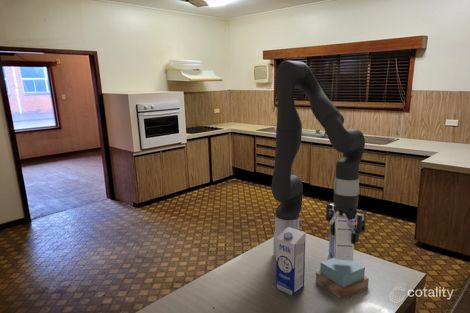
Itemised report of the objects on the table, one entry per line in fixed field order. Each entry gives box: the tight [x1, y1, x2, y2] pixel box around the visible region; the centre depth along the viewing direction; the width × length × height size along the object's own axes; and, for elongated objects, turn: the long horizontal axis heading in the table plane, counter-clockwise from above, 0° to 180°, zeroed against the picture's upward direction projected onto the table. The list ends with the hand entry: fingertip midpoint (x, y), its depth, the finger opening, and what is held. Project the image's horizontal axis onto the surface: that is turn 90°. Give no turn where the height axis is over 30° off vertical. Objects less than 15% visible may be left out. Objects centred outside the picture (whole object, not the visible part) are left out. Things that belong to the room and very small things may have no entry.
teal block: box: [319, 257, 366, 287], centre depth 111 cm, size 10×10×4 cm
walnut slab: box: [315, 270, 370, 300], centre depth 112 cm, size 12×12×4 cm
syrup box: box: [334, 215, 355, 261], centre depth 109 cm, size 6×6×14 cm
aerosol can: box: [327, 212, 335, 260], centre depth 129 cm, size 8×8×20 cm
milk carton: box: [275, 227, 307, 297], centre depth 109 cm, size 7×7×20 cm
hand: (343, 238), depth 109 cm, fingers closed on syrup box, 8 cm apart
